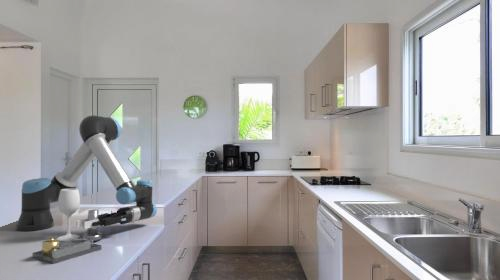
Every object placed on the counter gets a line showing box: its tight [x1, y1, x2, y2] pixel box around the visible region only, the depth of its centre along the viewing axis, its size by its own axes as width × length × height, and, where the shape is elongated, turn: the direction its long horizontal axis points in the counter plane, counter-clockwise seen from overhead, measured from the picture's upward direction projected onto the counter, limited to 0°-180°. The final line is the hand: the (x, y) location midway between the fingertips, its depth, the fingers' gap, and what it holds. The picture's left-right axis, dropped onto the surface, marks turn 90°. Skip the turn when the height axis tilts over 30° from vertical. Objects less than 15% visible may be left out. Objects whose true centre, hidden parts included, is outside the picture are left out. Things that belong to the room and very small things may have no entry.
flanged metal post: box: [82, 209, 103, 242], centre depth 134 cm, size 7×7×12 cm
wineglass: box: [56, 188, 81, 242], centre depth 137 cm, size 9×9×21 cm
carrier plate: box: [31, 237, 102, 265], centre depth 118 cm, size 14×18×6 cm
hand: (80, 224), depth 129 cm, fingers closed on flanged metal post, 4 cm apart
